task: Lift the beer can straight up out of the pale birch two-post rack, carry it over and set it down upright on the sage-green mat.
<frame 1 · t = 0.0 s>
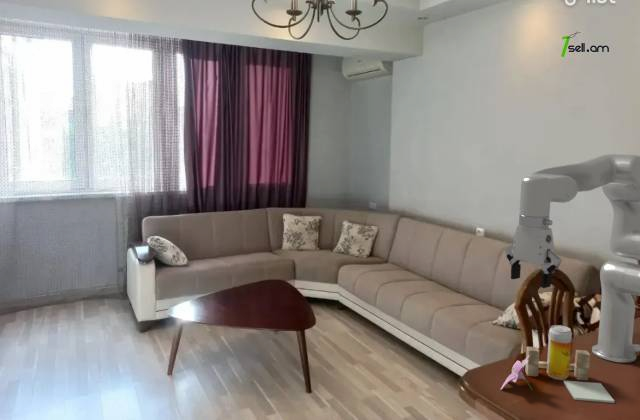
hand: (530, 282, 139), 31 cm above the table, tool pointing down, fingers open, 9 cm apart
lily: (516, 387, 144), on the table
beer can: (557, 376, 151), on the table
rack: (556, 375, 151), on the table
mat: (587, 392, 141), on the table
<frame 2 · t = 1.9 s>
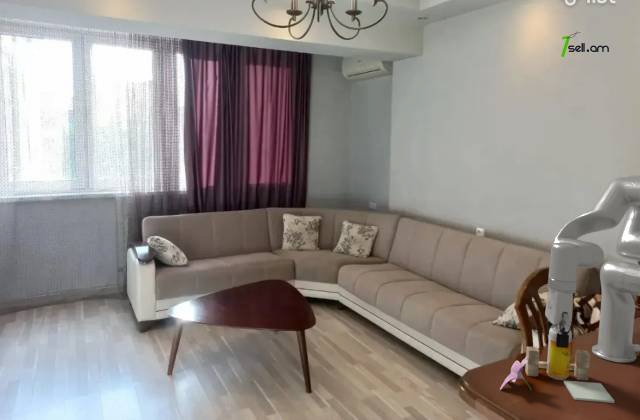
hand: (556, 340, 149), 11 cm above the table, tool pointing down, fingers open, 9 cm apart
nothing on the table moved.
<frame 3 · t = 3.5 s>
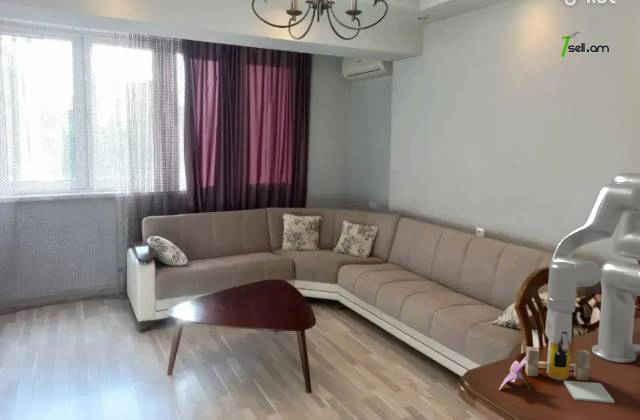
hand: (556, 361, 150), 5 cm above the table, tool pointing down, fingers closed on beer can, 5 cm apart
beer can: (557, 376, 151), on the table, touching gripper
everything else where it was.
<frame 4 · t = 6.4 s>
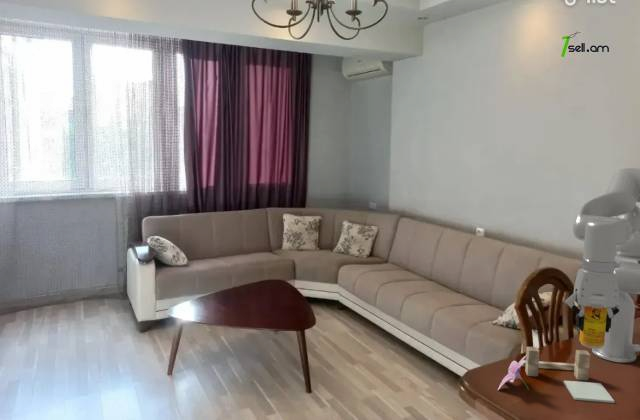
hand: (593, 329, 138), 19 cm above the table, tool pointing down, fingers closed on beer can, 5 cm apart
beer can: (591, 345, 139), point 14 cm above the table, touching gripper
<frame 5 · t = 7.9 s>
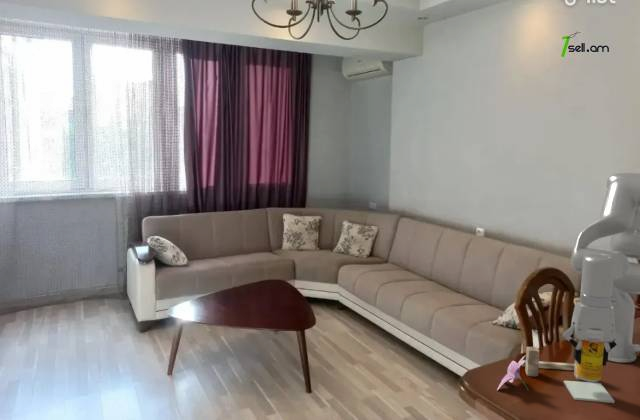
hand: (590, 362, 140), 9 cm above the table, tool pointing down, fingers closed on beer can, 5 cm apart
beer can: (588, 378, 140), point 4 cm above the table, touching gripper
when the fingers open (6 cm above the table, at t = 9.4 s): beer can stays where it is, resting on mat.
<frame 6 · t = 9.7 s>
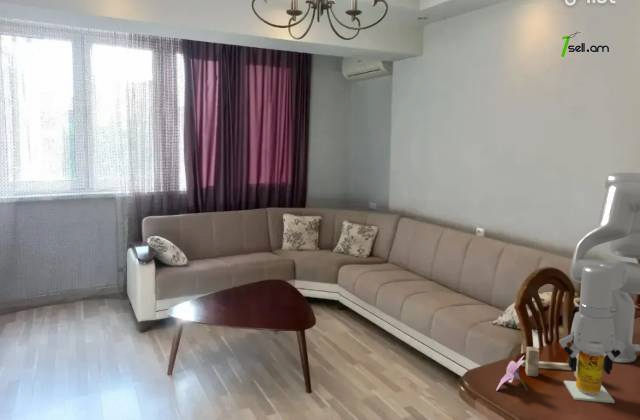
hand: (589, 370, 140), 7 cm above the table, tool pointing down, fingers open, 8 cm apart
beer can: (587, 391, 141), resting on mat
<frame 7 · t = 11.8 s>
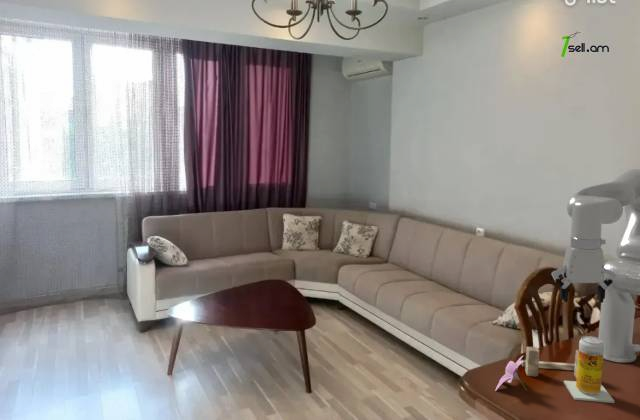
hand: (581, 300, 146), 24 cm above the table, tool pointing down, fingers open, 9 cm apart
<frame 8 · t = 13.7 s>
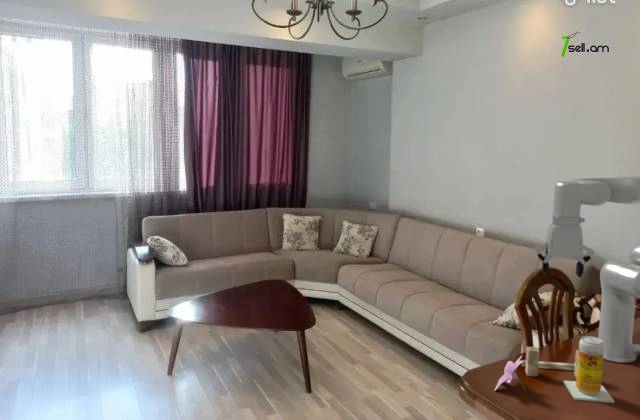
hand: (562, 275, 157), 28 cm above the table, tool pointing down, fingers open, 9 cm apart
at the end: beer can inside the target area on the mat (0.2 cm from its centre), point 0.4 cm above the mat's base; beer can tilted 0°; the gripper is holding nothing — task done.
